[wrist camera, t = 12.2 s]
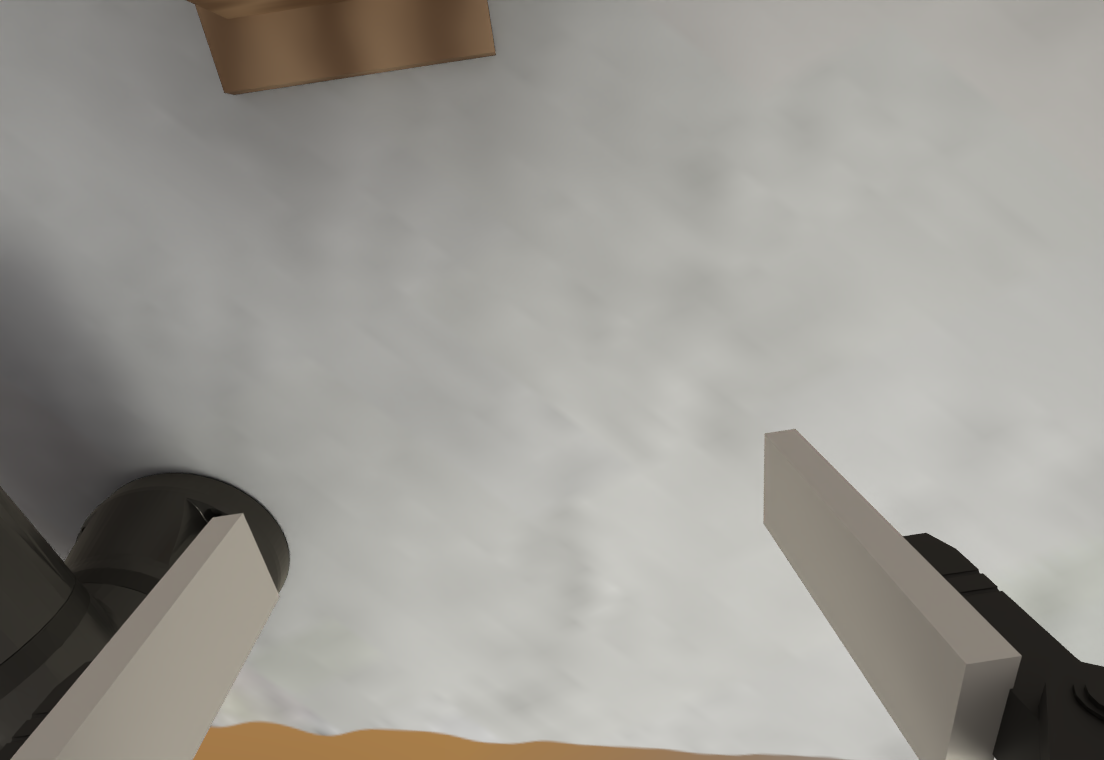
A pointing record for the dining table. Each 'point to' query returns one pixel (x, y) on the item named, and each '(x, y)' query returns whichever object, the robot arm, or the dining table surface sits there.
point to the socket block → (337, 38)
